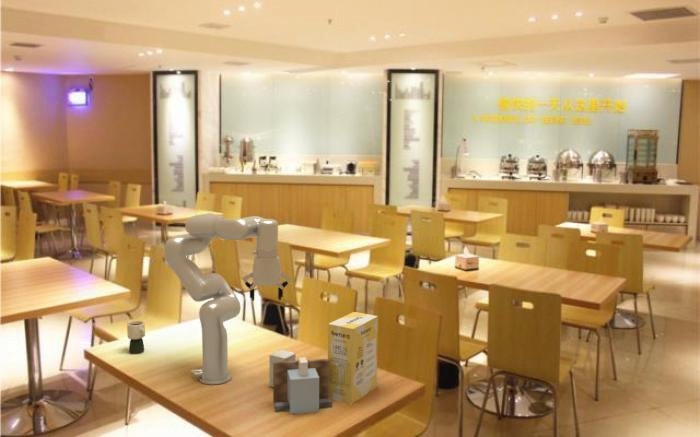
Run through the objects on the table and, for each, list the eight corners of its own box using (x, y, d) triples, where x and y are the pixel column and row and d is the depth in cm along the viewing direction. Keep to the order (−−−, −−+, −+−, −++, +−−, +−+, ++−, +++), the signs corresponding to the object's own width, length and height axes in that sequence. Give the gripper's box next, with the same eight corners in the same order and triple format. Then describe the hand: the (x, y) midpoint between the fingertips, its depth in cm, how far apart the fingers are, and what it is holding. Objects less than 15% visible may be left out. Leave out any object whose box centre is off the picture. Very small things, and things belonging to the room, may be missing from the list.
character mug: (151, 352, 279) (151, 323, 277) (138, 356, 273) (137, 327, 271) (135, 347, 284) (134, 318, 282) (121, 351, 278) (120, 322, 276)
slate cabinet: (290, 414, 221) (290, 365, 219) (287, 403, 230) (287, 356, 227) (318, 411, 223) (319, 363, 221) (314, 400, 232) (315, 354, 230)
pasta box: (352, 381, 251) (354, 311, 247) (376, 386, 245) (378, 316, 241) (327, 397, 235) (328, 323, 231) (351, 404, 230) (353, 328, 226)
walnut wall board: (275, 411, 223) (275, 370, 221) (273, 402, 230) (273, 362, 228) (332, 407, 227) (332, 366, 225) (327, 397, 235) (328, 358, 233)
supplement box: (284, 390, 241) (284, 358, 239) (268, 386, 244) (268, 354, 243) (296, 384, 247) (296, 352, 245) (280, 379, 251) (280, 348, 249)
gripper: (243, 256, 225) (242, 303, 228) (292, 255, 229) (291, 301, 232) (242, 251, 233) (241, 297, 235) (289, 251, 236) (288, 296, 239)
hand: (266, 299), depth 234 cm, fingers open, 9 cm apart
